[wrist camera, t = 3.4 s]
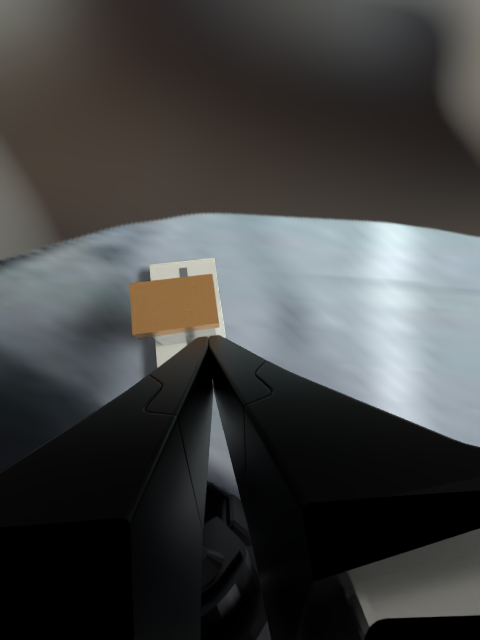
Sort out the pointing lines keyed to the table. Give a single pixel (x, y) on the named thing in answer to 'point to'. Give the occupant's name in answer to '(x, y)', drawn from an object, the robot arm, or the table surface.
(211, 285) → the handle
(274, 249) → the table surface
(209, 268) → the block
